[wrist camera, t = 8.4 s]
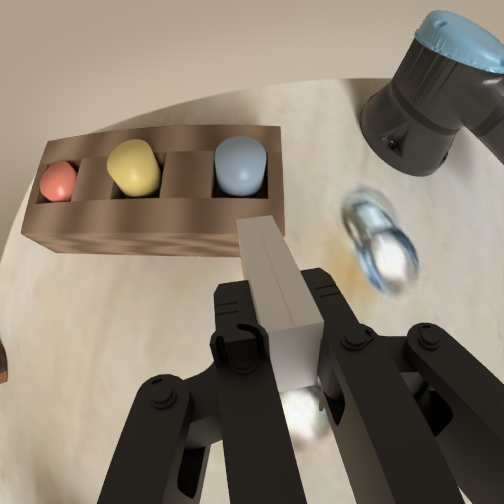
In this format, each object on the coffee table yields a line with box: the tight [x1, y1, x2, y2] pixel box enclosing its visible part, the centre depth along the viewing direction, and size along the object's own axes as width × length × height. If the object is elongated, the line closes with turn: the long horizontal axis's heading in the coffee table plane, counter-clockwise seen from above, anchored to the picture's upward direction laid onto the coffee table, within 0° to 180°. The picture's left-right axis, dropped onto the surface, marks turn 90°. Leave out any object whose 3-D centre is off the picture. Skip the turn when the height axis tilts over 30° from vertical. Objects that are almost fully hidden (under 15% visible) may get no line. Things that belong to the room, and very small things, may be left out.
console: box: [21, 125, 285, 257], centre depth 31 cm, size 28×12×8 cm, turn 89°
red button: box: [40, 161, 78, 203], centre depth 28 cm, size 4×4×4 cm
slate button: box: [215, 136, 266, 199], centre depth 26 cm, size 4×4×4 cm
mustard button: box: [107, 139, 163, 199], centre depth 26 cm, size 4×4×4 cm
